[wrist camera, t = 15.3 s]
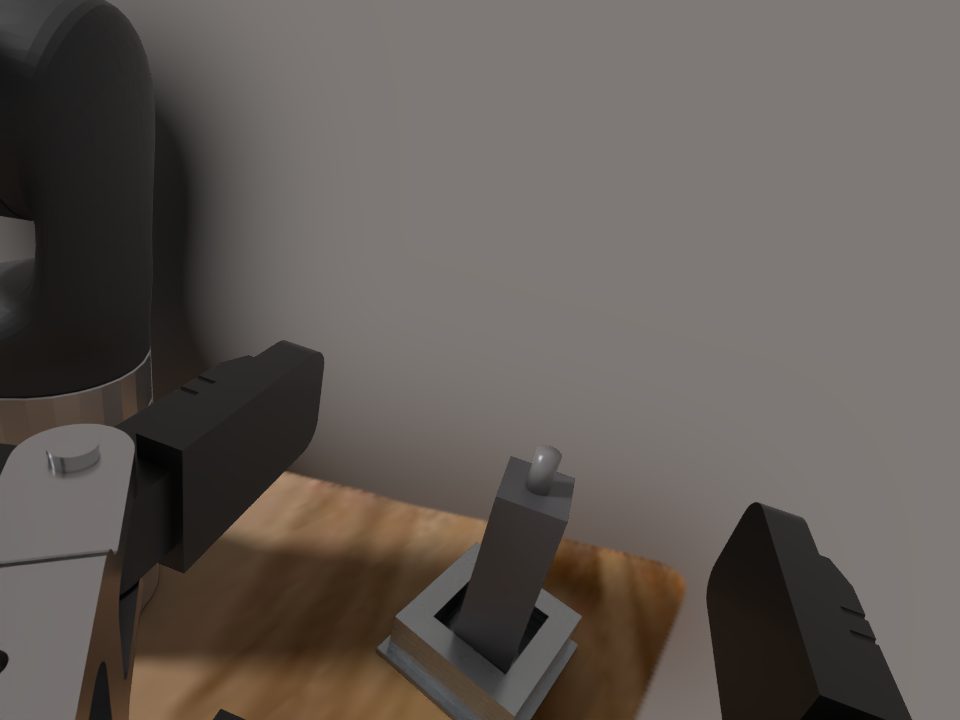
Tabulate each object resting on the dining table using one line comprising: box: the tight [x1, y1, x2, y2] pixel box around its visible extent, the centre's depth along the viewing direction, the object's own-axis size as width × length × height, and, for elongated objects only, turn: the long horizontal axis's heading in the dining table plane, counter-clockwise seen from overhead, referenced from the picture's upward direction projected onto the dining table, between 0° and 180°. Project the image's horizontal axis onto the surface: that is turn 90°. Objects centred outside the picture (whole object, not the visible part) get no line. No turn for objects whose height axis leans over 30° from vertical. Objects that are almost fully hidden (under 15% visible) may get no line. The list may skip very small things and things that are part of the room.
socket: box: [376, 542, 582, 720], centre depth 38 cm, size 10×10×3 cm
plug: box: [454, 445, 575, 675], centre depth 35 cm, size 4×4×16 cm
